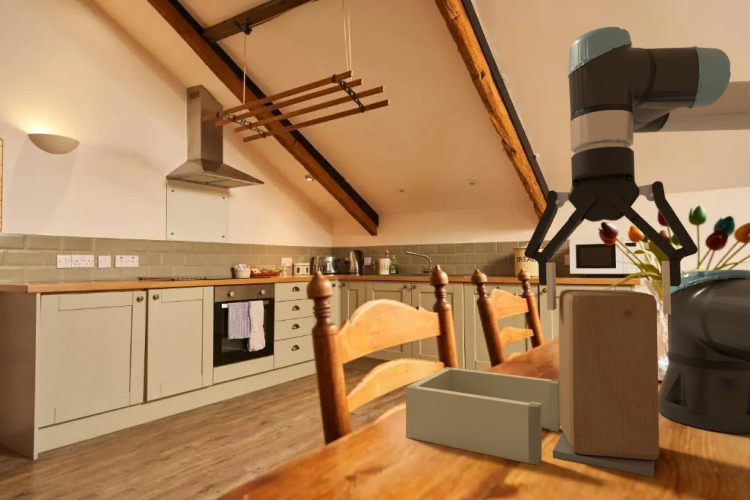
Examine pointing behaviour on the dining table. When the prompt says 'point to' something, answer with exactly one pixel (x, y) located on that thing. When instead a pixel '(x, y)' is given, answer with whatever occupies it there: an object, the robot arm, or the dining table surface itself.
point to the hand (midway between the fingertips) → (606, 311)
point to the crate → (483, 412)
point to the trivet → (603, 459)
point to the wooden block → (609, 372)
